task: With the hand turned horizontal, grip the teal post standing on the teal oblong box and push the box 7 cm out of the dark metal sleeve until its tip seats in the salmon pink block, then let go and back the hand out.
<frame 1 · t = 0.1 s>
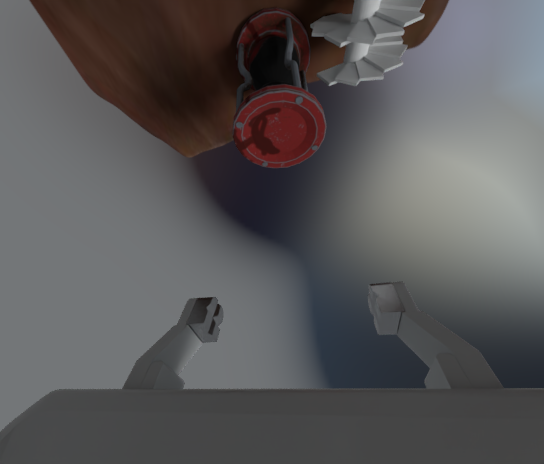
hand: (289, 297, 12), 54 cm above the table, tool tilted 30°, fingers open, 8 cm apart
hourglass: (273, 55, 49), on the table
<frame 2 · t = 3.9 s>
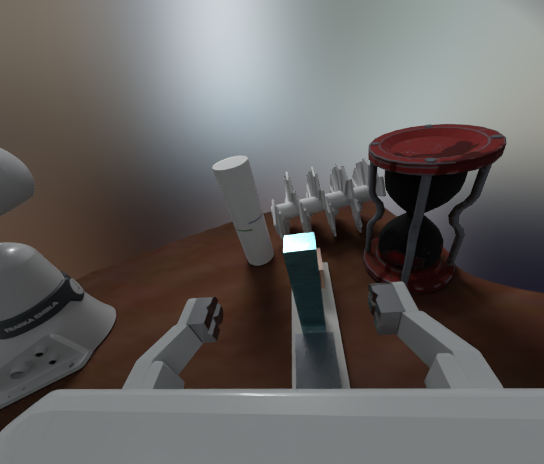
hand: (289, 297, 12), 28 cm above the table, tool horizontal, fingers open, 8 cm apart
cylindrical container: (260, 256, 58), on the table
hourglass: (404, 263, 47), on the table
base board: (315, 330, 39), on the table
spiral staircase: (323, 230, 61), on the table
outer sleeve: (318, 379, 30), on the base board, point 4 cm above the table
teal oblong box: (310, 318, 28), point 12 cm above the table, slide at 0.0 cm
salmon pink block: (309, 268, 45), on the base board, point 4 cm above the table
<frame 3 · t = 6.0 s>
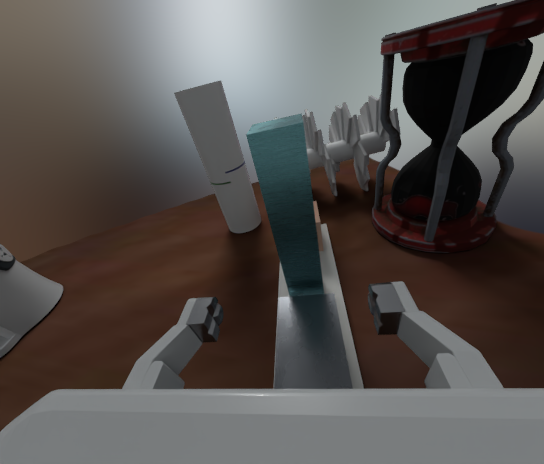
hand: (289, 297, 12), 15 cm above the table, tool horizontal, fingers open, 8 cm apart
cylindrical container: (245, 223, 48), on the table
hourglass: (425, 221, 36), on the table
base board: (310, 301, 29), on the table
spiral staircase: (321, 194, 51), on the table
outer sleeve: (312, 362, 19), on the base board, point 4 cm above the table
teal oblong box: (298, 264, 18), point 12 cm above the table, slide at 0.0 cm
salmon pink block: (302, 227, 35), on the base board, point 4 cm above the table
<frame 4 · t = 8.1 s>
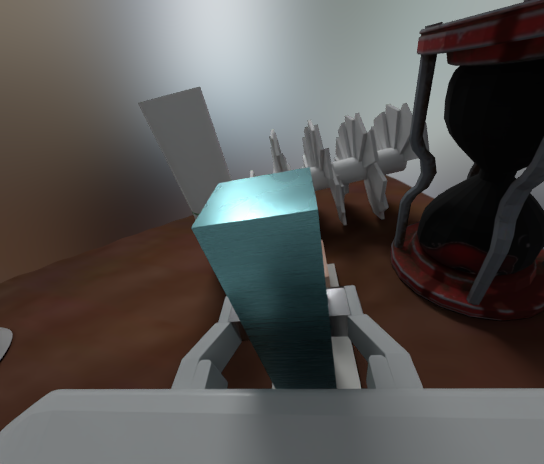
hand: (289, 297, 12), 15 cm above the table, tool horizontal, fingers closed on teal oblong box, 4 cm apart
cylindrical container: (236, 254, 40), on the table
hourglass: (460, 265, 29), on the table
base board: (316, 390, 21), on the table
spiral staircase: (326, 218, 43), on the table
teal oblong box: (301, 419, 10), point 12 cm above the table, slide at 0.0 cm, touching gripper
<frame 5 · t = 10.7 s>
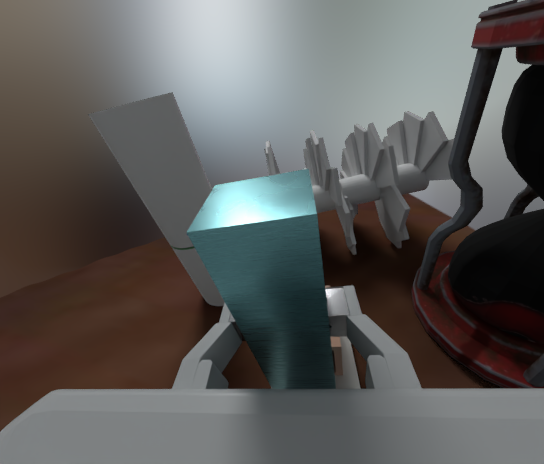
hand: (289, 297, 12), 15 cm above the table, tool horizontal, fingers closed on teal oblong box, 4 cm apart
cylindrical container: (226, 286, 34), on the table
hourglass: (501, 314, 23), on the table
spiral staircase: (331, 241, 37), on the table
teal oblong box: (300, 425, 10), point 12 cm above the table, slide at 7.0 cm, touching gripper
salmon pink block: (307, 330, 22), on the base board, point 4 cm above the table
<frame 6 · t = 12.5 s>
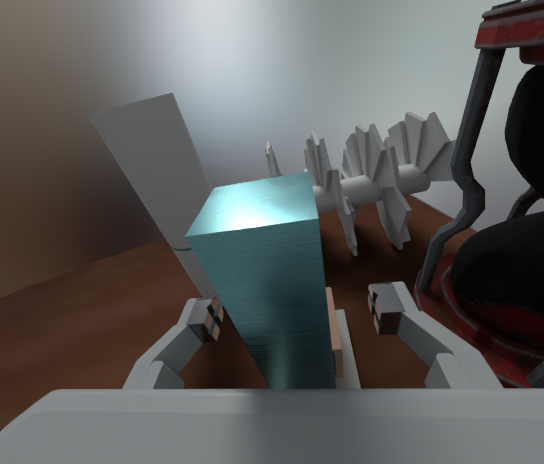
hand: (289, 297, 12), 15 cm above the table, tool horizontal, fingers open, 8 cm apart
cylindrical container: (226, 287, 34), on the table
hourglass: (503, 316, 23), on the table
spiral staircase: (332, 242, 37), on the table
teal oblong box: (301, 431, 10), point 12 cm above the table, slide at 7.0 cm
salmon pink block: (308, 332, 22), on the base board, point 4 cm above the table
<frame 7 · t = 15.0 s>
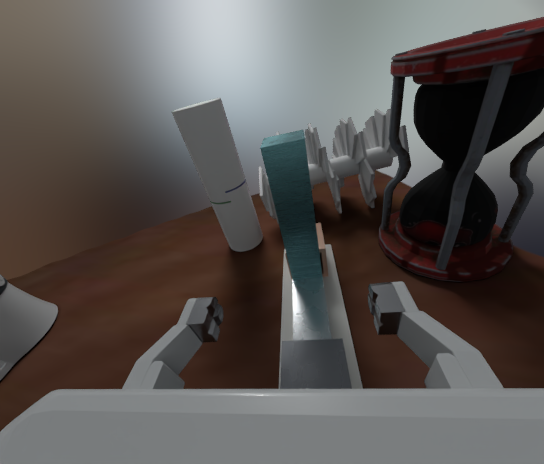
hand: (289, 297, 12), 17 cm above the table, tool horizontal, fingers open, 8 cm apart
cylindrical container: (246, 240, 46), on the table
hourglass: (435, 243, 34), on the table
base board: (315, 335, 27), on the table
spiral staircase: (325, 209, 49), on the table
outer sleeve: (320, 420, 17), on the base board, point 4 cm above the table
teal oblong box: (300, 251, 22), point 12 cm above the table, slide at 7.0 cm
salmon pink block: (306, 250, 33), on the base board, point 4 cm above the table
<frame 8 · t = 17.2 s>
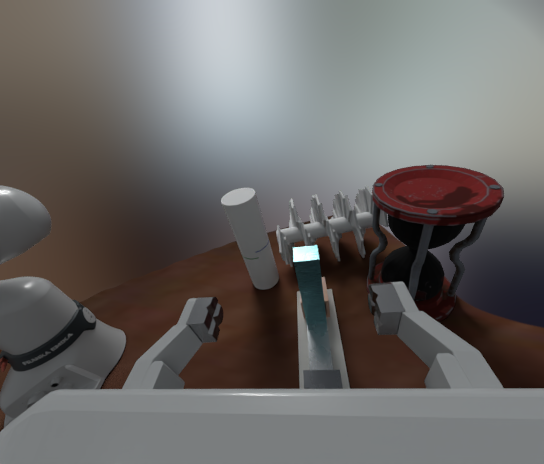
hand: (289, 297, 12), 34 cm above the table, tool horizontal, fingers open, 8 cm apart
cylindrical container: (265, 279, 59), on the table
hourglass: (406, 291, 48), on the table
base board: (321, 361, 40), on the table
spiral staircase: (327, 252, 63), on the table
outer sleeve: (326, 417, 31), on the base board, point 4 cm above the table
teal oblong box: (314, 313, 35), point 12 cm above the table, slide at 7.0 cm
salmon pink block: (314, 297, 47), on the base board, point 4 cm above the table
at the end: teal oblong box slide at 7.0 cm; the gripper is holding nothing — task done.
